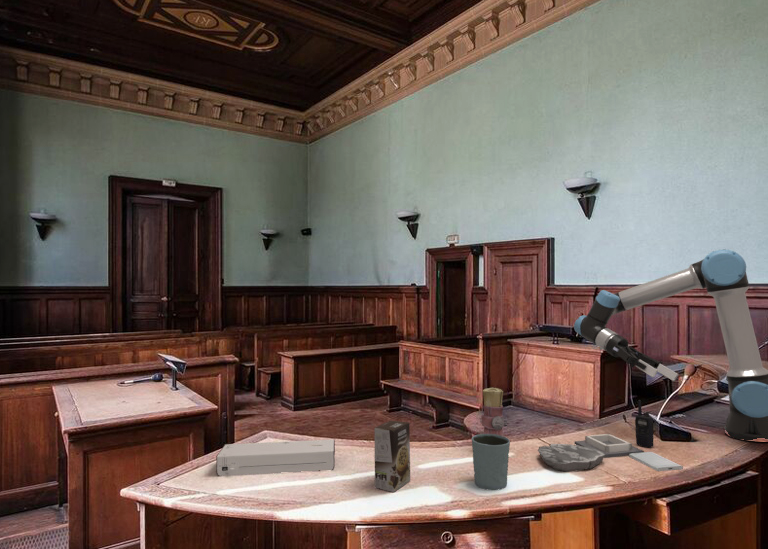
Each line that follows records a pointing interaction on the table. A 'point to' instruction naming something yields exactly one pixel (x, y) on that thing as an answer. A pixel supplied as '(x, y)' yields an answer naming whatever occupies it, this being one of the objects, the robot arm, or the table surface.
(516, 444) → the table surface
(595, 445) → the charging cradle
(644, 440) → the two-way radio
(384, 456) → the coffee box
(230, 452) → the laminator
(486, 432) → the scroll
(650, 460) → the hard drive
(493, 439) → the grey cup
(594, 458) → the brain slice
